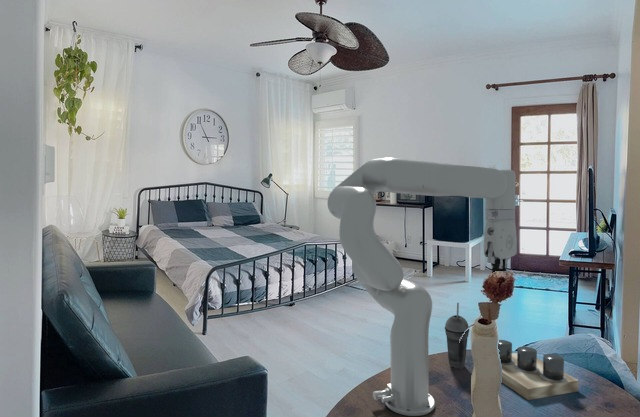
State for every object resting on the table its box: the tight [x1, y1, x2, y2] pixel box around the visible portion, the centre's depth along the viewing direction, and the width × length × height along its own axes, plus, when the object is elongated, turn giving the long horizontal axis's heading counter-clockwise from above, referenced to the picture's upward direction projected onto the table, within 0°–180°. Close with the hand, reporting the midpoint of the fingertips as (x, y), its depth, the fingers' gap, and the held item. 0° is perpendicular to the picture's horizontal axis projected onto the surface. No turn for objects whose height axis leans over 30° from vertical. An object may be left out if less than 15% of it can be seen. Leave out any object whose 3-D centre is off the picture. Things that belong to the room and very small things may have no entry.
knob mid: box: [516, 346, 538, 371], centre depth 124 cm, size 5×5×5 cm
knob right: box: [542, 353, 565, 380], centre depth 118 cm, size 5×5×5 cm
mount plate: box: [501, 352, 579, 401], centre depth 124 cm, size 16×20×3 cm
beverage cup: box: [444, 302, 470, 369], centre depth 133 cm, size 7×7×20 cm
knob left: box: [498, 339, 513, 363], centre depth 129 cm, size 5×5×5 cm
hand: (499, 281), depth 119 cm, fingers closed
